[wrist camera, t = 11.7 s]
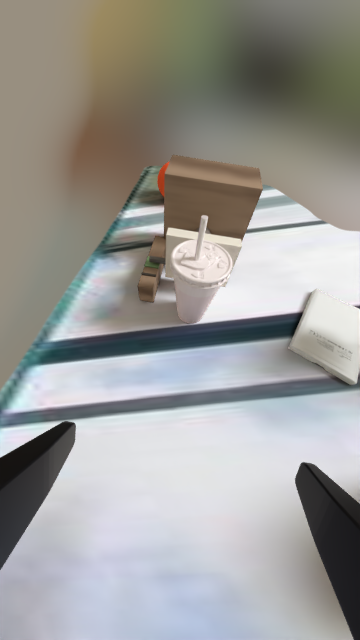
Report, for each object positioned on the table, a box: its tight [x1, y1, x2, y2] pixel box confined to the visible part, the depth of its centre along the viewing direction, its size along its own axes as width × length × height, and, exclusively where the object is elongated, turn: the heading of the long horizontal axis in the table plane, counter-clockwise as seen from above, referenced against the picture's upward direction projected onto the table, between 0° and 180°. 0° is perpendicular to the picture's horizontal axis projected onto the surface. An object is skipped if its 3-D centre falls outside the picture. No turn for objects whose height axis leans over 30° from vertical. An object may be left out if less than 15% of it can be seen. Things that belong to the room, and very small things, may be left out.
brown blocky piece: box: [138, 155, 263, 302], centre depth 27 cm, size 16×14×12 cm
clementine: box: [158, 162, 169, 197], centre depth 40 cm, size 8×7×7 cm
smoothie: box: [170, 215, 232, 323], centre depth 22 cm, size 6×6×14 cm
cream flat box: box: [149, 227, 242, 287], centre depth 26 cm, size 2×11×7 cm, turn 81°
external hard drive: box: [288, 289, 360, 385], centre depth 27 cm, size 2×8×12 cm
